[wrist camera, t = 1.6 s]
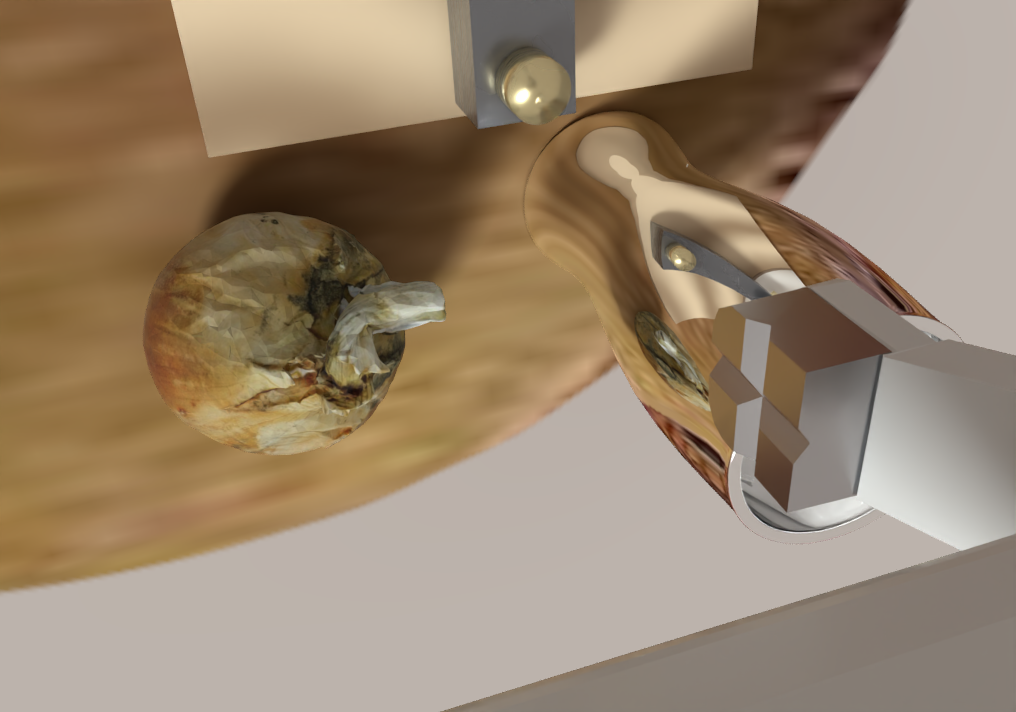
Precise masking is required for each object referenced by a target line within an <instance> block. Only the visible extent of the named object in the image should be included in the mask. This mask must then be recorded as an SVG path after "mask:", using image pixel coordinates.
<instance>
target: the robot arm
mask: <svg viewBox="0 0 1016 712" xmlns="http://www.w3.org/2000/svg"><path fill="white" fill-rule="evenodd" d="M712 343H713V344H714V345H715V347H716V348H717V349H718V350H719V351H720V353H721V354H722V355H723V356H722V357H721V359H720V360H719V361H718V363H717V364H716V366H715V367H714V369H713V370H712V372H711V373H710V375H709V396H708V401H709V405H710V409H711V413H712V417H713V421H714V424H715V426H716V428H717V430H718V432H719V434H720V436H721V437H722V439H723V440H724V441H725V443H726V444H727V445H728V446H729V447H730V449H731V450H732V451H733V452H735V453H737V454H740V455H743V456H745V457H748V458H750V459H753V460H756V463H755V473H754V476H755V477H756V479H757V480H758V481H759V482H760V483H761V484H762V485H763V487H764V488H765V489H766V490H767V491H768V492H769V493H770V494H771V496H772V497H773V498H774V499H775V500H776V501H777V502H778V503H779V505H780V506H781V507H782V508H783V509H784V510H785V511H786V513H789V512H793V511H797V510H801V509H805V508H809V507H813V506H817V505H821V504H825V503H829V502H833V501H837V500H841V499H845V498H849V497H853V496H857V497H856V499H857V500H859V501H861V502H863V503H865V504H867V505H869V506H871V507H873V508H875V509H877V510H879V511H881V512H883V513H885V514H888V515H890V516H892V517H894V518H896V519H898V520H900V521H902V522H904V523H906V524H908V525H910V526H912V527H914V528H916V529H918V530H920V531H922V532H924V533H926V534H928V535H930V536H932V537H934V538H936V539H938V540H940V541H942V542H944V543H946V544H948V545H951V546H953V547H955V548H957V549H959V550H961V551H959V552H956V553H953V554H950V555H947V556H943V557H940V558H937V559H934V560H931V561H927V562H924V563H921V564H918V565H914V566H911V567H908V568H905V569H902V570H898V571H895V572H892V573H888V574H885V575H882V576H879V577H876V578H872V579H869V580H866V581H862V582H859V583H856V584H853V585H850V586H846V587H843V588H840V589H837V590H833V591H830V592H827V593H823V594H820V595H817V596H814V597H810V598H807V599H804V600H801V601H798V602H794V603H791V604H788V605H784V606H781V607H778V608H775V609H771V610H768V611H765V612H762V613H758V614H755V615H752V616H748V617H746V618H742V619H739V620H735V621H732V622H729V623H726V624H722V625H719V626H716V627H713V628H710V629H706V630H703V631H700V632H696V633H693V634H690V635H687V636H684V637H680V638H677V639H674V640H670V641H667V642H664V643H661V644H657V645H655V646H651V647H648V648H644V649H641V650H638V651H635V652H631V653H628V654H625V655H622V656H618V657H615V658H612V659H609V660H606V661H603V662H599V663H596V664H593V665H590V666H586V667H583V668H580V669H577V670H573V671H570V672H567V673H564V674H560V675H557V676H554V677H551V678H548V679H544V680H541V681H538V682H535V683H532V684H528V685H525V686H522V687H519V688H515V689H512V690H509V691H506V692H502V693H499V694H496V695H493V696H490V697H486V698H483V699H480V700H477V701H473V702H471V703H467V704H464V705H461V706H457V707H454V708H451V709H448V710H445V711H441V712H1016V356H1015V355H1011V354H1007V353H1002V352H999V351H995V350H990V349H986V348H982V347H978V346H974V345H970V344H966V343H962V342H958V341H954V340H950V339H947V340H943V341H939V342H936V341H935V340H933V339H932V338H930V337H929V336H928V335H926V334H925V333H923V332H922V331H920V330H919V329H918V328H916V327H915V326H913V325H912V324H911V323H909V322H908V321H906V320H905V319H904V318H902V317H901V316H899V315H898V314H897V313H895V312H894V311H892V310H891V309H889V308H888V307H887V306H885V305H884V304H882V303H881V302H880V301H878V300H877V299H875V298H874V297H873V296H871V295H870V294H868V293H867V292H866V291H864V290H863V289H861V288H860V287H858V286H857V285H856V284H854V283H853V282H851V281H850V280H844V279H839V278H837V279H833V280H829V281H825V282H821V283H817V284H814V285H810V286H806V287H802V288H799V289H797V290H793V291H788V292H784V293H780V294H776V295H772V296H768V297H764V298H760V299H756V300H752V301H748V302H743V303H739V304H735V305H731V306H727V307H723V308H719V309H718V312H717V314H716V317H715V319H714V322H713V331H712Z"/></svg>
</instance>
